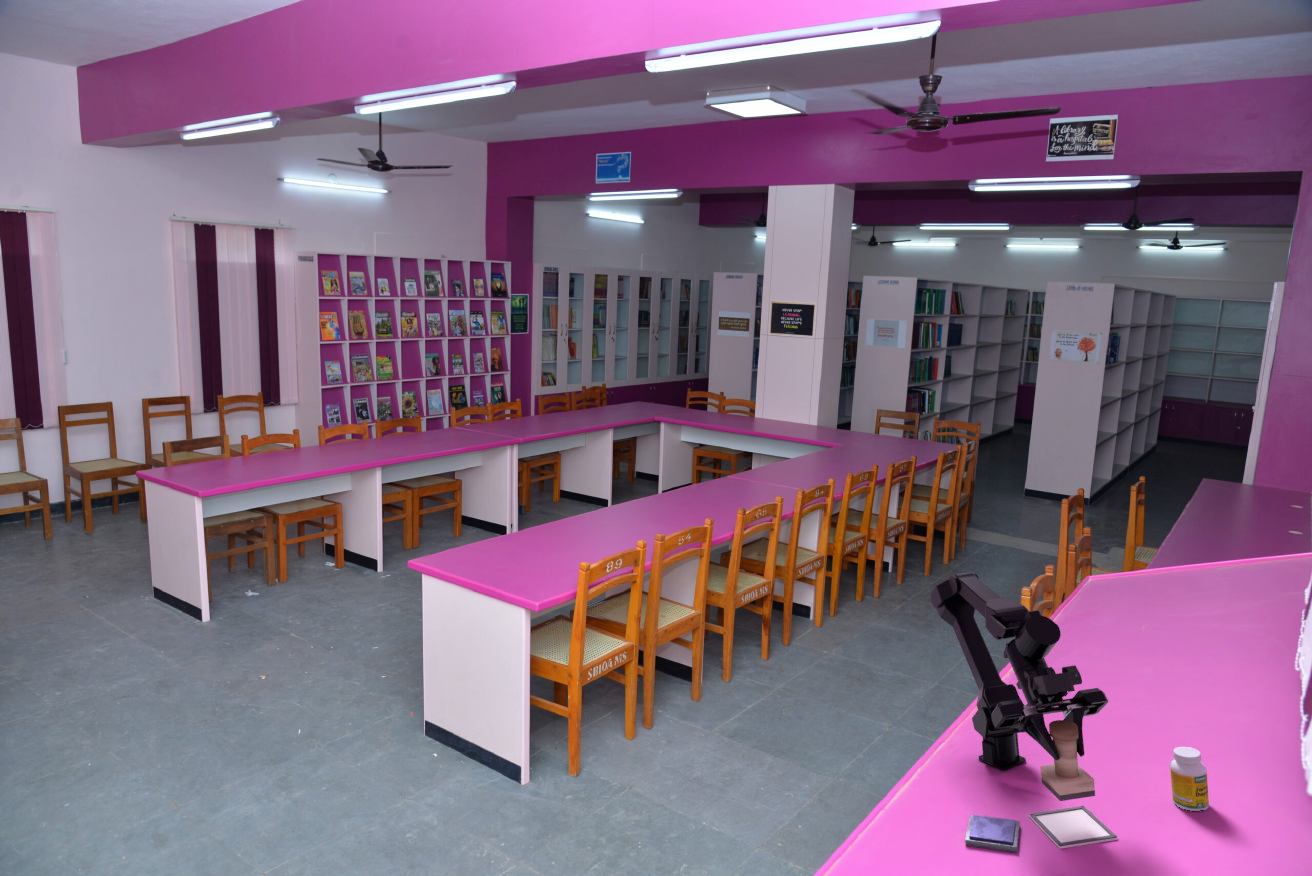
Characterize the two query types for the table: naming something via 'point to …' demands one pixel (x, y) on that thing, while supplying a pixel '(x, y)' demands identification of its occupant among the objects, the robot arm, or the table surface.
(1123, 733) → the table surface
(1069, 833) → the marked square
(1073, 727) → the stamp
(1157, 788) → the table surface
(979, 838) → the ink pad
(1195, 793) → the supplement bottle
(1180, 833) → the table surface
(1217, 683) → the table surface
